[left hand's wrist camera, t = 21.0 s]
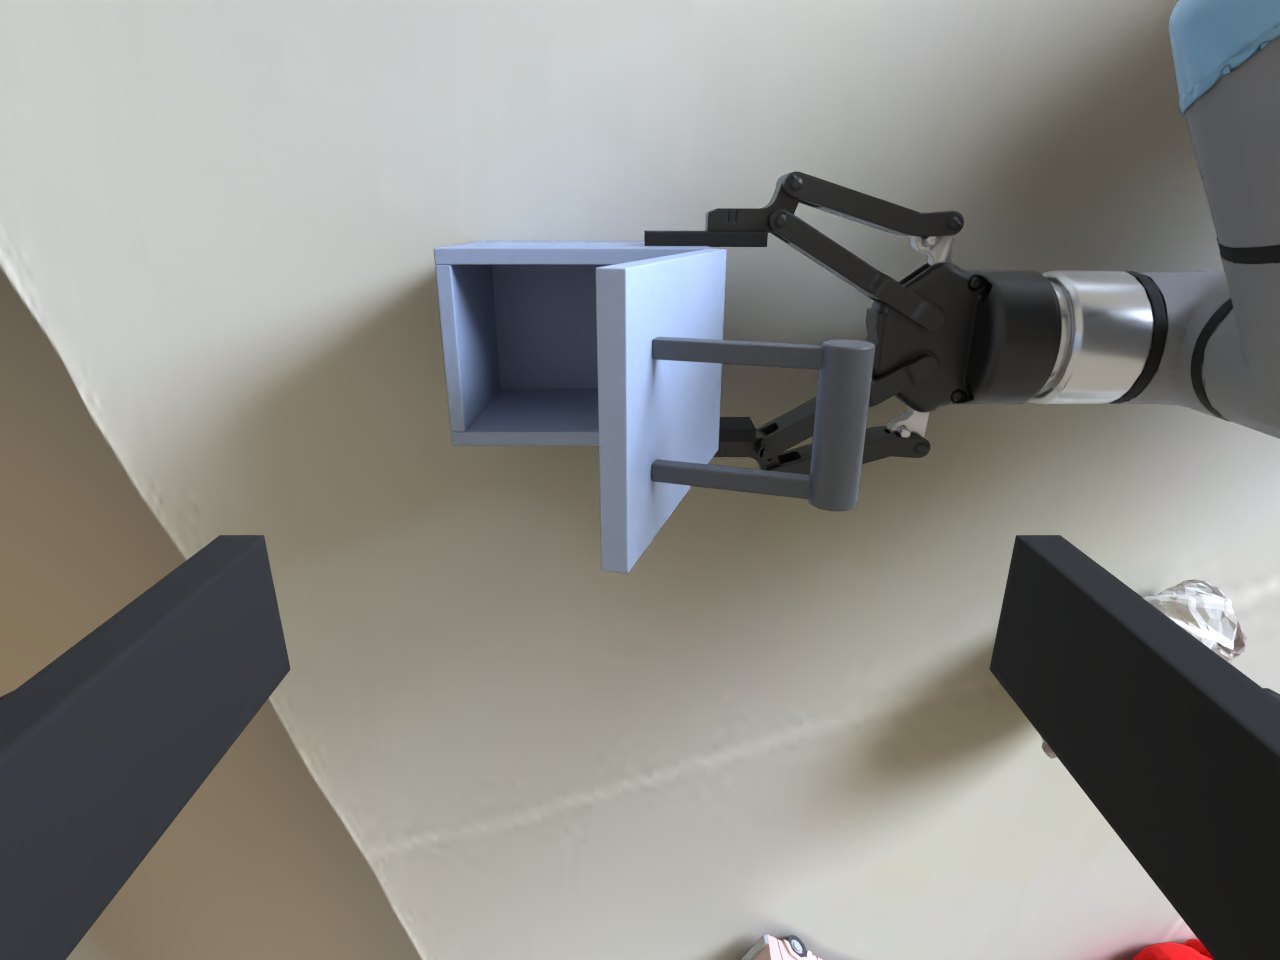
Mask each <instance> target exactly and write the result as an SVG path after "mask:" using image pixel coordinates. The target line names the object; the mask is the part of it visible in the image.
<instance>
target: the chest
mask: <svg viewBox="0 0 1280 960" xmlns="http://www.w3.org/2000/svg"><path fill="white" fill-rule="evenodd" d="M704 249H714V248H712V247H709V246H645V241H480V242H473V243H466V244H460V245H453V246H446V247H439V248H434V258H435V264H436V266H435V268H436V279H437V290H438V300H439V311H440V322H441V332H442V343H443V354H444V365H445V375H446V386H447V397H448V407H449V418H450V429H451V431H452V432H451V439H452V445H454V446H599V415H598V364H597V313H596V268H598V267H604V266H610V265H615V264H621V263H627V262H633V261H639V260H645V259H651V258H657V257H663V256H668V255H674V254H680V253H686V252H692V251H698V250H704Z"/></svg>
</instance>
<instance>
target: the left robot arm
mask: <svg viewBox="0 0 1280 960" xmlns="http://www.w3.org/2000/svg"><path fill="white" fill-rule="evenodd" d="M289 671H290V665H289V660H288V655H287V650H286V645H285V639H284V634H283V629H282V624H281V619H280V614H279V609H278V604H277V599H276V594H275V589H274V584H273V579H272V574H271V569H270V564H269V559H268V554H267V549H266V544H265V539H264V535H220V536H218V537H217V538H216V539H215V540H213V541H212V542H211V543H209V544H208V545H207V546H205V547H204V548H203V549H201V550H200V551H199V552H197V553H196V554H195V555H193V556H192V557H191V558H189V559H188V560H187V561H185V562H184V563H183V564H181V565H180V566H179V567H177V568H176V569H175V570H173V571H172V572H171V573H170V574H168V575H167V576H166V577H164V578H163V579H162V580H160V581H159V582H158V583H156V584H155V585H154V586H152V587H151V588H150V589H148V590H147V591H146V592H144V593H143V594H142V595H140V596H139V597H138V598H136V599H135V600H134V601H132V602H131V603H130V604H129V605H127V606H126V607H124V608H123V609H122V610H121V611H119V612H118V613H117V614H115V615H114V616H113V617H111V618H110V619H109V620H107V621H106V622H105V623H103V624H102V625H101V626H99V627H98V628H97V629H95V630H94V631H93V632H91V633H90V634H89V635H87V636H86V637H85V638H83V639H82V640H81V641H80V642H78V643H77V644H76V645H74V646H73V647H72V648H70V649H69V650H68V651H66V652H65V653H64V654H62V655H61V656H60V657H58V658H57V659H56V660H54V661H53V662H52V663H50V664H49V665H48V666H46V667H45V668H44V669H42V670H41V671H40V672H38V673H37V674H36V675H35V676H33V677H32V678H31V679H29V680H28V681H27V682H25V683H24V684H23V685H21V686H20V687H19V688H17V689H16V690H15V691H12V692H10V693H8V694H6V695H4V696H2V697H0V960H66V958H67V957H68V956H69V955H70V953H71V952H72V951H73V949H74V948H75V947H76V945H77V944H78V943H79V942H80V940H81V939H82V938H83V937H84V935H85V934H86V933H87V931H88V930H89V929H90V927H91V926H92V925H93V924H94V922H95V921H96V920H97V918H98V917H99V916H100V915H101V913H102V912H103V911H104V909H105V908H106V907H107V905H108V904H109V903H110V902H111V900H112V899H113V898H114V897H115V895H116V894H117V893H118V891H119V890H120V889H121V887H122V886H123V885H124V884H125V882H126V881H127V880H128V878H129V877H130V876H131V875H132V873H133V872H134V871H135V869H136V868H137V867H138V866H139V864H140V863H141V862H142V860H143V859H144V858H145V856H146V855H147V854H148V853H149V851H150V850H151V849H152V847H153V846H154V845H155V844H156V842H157V841H158V840H159V838H160V837H161V836H162V835H163V833H164V832H165V831H166V829H167V828H168V827H169V825H170V824H171V823H172V822H173V820H174V819H175V818H176V816H177V815H178V814H179V813H180V811H181V810H182V809H183V807H184V806H185V805H186V804H187V802H188V801H189V800H190V798H191V797H192V796H193V795H194V793H195V792H196V791H197V789H198V788H199V787H200V785H201V784H202V783H203V782H204V780H205V779H206V778H207V776H208V775H209V774H210V773H211V771H212V770H213V769H214V767H215V766H216V765H217V764H218V762H219V761H220V760H221V758H222V757H223V756H224V754H225V753H226V752H227V751H228V749H229V748H230V747H231V745H232V744H233V743H234V742H235V740H236V739H237V738H238V736H239V735H240V734H241V733H242V731H243V730H244V729H245V727H246V726H247V725H248V723H249V722H250V721H251V720H252V718H253V717H254V716H255V714H256V713H257V712H258V711H259V709H260V708H261V707H262V705H263V704H264V703H265V702H266V700H267V699H268V698H269V696H270V695H271V694H272V693H273V691H274V690H275V689H276V687H277V686H278V685H279V683H280V682H281V681H282V680H283V678H284V677H285V676H286V674H287V673H288V672H289ZM990 671H991V672H992V673H993V674H994V676H995V677H996V678H997V680H998V681H999V682H1000V683H1001V685H1002V686H1003V687H1004V689H1005V690H1006V691H1007V693H1008V694H1009V695H1010V696H1011V698H1012V699H1013V700H1014V702H1015V703H1016V704H1017V705H1018V707H1019V708H1020V709H1021V711H1022V712H1023V713H1024V714H1025V716H1026V717H1027V718H1028V720H1029V721H1030V722H1031V724H1032V725H1033V726H1034V727H1035V729H1036V730H1037V731H1038V733H1039V734H1040V735H1041V736H1042V738H1043V739H1044V740H1045V742H1046V743H1047V744H1048V745H1049V747H1050V748H1051V749H1052V751H1053V752H1054V753H1055V755H1056V756H1057V757H1058V758H1059V760H1060V761H1061V762H1062V764H1063V765H1064V766H1065V767H1066V769H1067V770H1068V771H1069V773H1070V774H1071V775H1072V776H1073V778H1074V779H1075V780H1076V782H1077V783H1078V784H1079V785H1080V787H1081V788H1082V789H1083V791H1084V792H1085V793H1086V795H1087V796H1088V797H1089V798H1090V800H1091V801H1092V802H1093V804H1094V805H1095V806H1096V807H1097V809H1098V810H1099V811H1100V813H1101V814H1102V815H1103V816H1104V818H1105V819H1106V820H1107V822H1108V823H1109V824H1110V826H1111V827H1112V828H1113V829H1114V831H1115V832H1116V833H1117V835H1118V836H1119V837H1120V838H1121V840H1122V841H1123V842H1124V844H1125V845H1126V846H1127V847H1128V849H1129V850H1130V851H1131V853H1132V854H1133V855H1134V856H1135V858H1136V859H1137V860H1138V862H1139V863H1140V864H1141V866H1142V867H1143V868H1144V869H1145V871H1146V872H1147V873H1148V875H1149V876H1150V877H1151V878H1152V880H1153V881H1154V882H1155V884H1156V885H1157V886H1158V887H1159V889H1160V890H1161V891H1162V893H1163V894H1164V895H1165V897H1166V898H1167V899H1168V900H1169V902H1170V903H1171V904H1172V906H1173V907H1174V908H1175V909H1176V911H1177V912H1178V913H1179V915H1180V916H1181V917H1182V918H1183V920H1184V921H1185V922H1186V924H1187V925H1188V926H1189V927H1190V929H1191V930H1192V931H1193V933H1194V934H1195V935H1196V937H1197V938H1198V939H1199V940H1200V942H1201V943H1202V944H1203V946H1204V947H1205V948H1206V949H1207V951H1208V952H1209V953H1210V955H1211V956H1212V957H1213V958H1214V960H1280V694H1278V693H1276V692H1274V691H1272V690H1270V689H1268V688H1261V687H1260V686H1259V685H1257V684H1256V683H1255V682H1253V681H1252V680H1251V679H1250V678H1248V677H1247V676H1246V675H1244V674H1243V673H1242V672H1240V671H1239V670H1238V669H1236V668H1235V667H1234V666H1232V665H1231V664H1230V663H1228V662H1227V661H1226V660H1224V659H1223V658H1222V657H1220V656H1219V655H1218V654H1216V653H1215V652H1214V651H1212V650H1211V649H1210V648H1208V647H1207V646H1206V645H1204V644H1203V643H1202V642H1201V641H1199V640H1198V639H1197V638H1195V637H1194V636H1193V635H1191V634H1190V633H1189V632H1187V631H1186V630H1185V629H1183V628H1182V627H1181V626H1179V625H1178V624H1177V623H1175V622H1174V621H1173V620H1171V619H1170V618H1169V617H1167V616H1166V615H1165V614H1163V613H1162V612H1161V611H1159V610H1158V609H1157V608H1156V607H1154V606H1153V605H1152V604H1150V603H1149V602H1148V601H1146V600H1145V599H1144V598H1142V597H1141V596H1140V595H1138V594H1137V593H1136V592H1134V591H1133V590H1132V589H1130V588H1129V587H1128V586H1126V585H1125V584H1124V583H1122V582H1121V581H1120V580H1118V579H1117V578H1116V577H1114V576H1113V575H1112V574H1110V573H1109V572H1108V571H1107V570H1105V569H1104V568H1103V567H1101V566H1100V565H1099V564H1097V563H1096V562H1095V561H1093V560H1092V559H1091V558H1089V557H1088V556H1087V555H1085V554H1084V553H1083V552H1081V551H1080V550H1079V549H1077V548H1076V547H1075V546H1073V545H1072V544H1071V543H1069V542H1068V541H1067V540H1065V539H1064V538H1063V537H1062V536H1060V535H1016V539H1015V544H1014V549H1013V554H1012V559H1011V564H1010V569H1009V574H1008V579H1007V584H1006V589H1005V594H1004V599H1003V604H1002V609H1001V614H1000V619H999V624H998V629H997V634H996V639H995V645H994V650H993V655H992V660H991V665H990Z"/></svg>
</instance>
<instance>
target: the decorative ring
mask: <svg viewBox="0 0 1280 960" xmlns="http://www.w3.org/2000/svg"><path fill="white" fill-rule="evenodd" d="M1133 960H1214V958H1213V957H1212V956H1211V955H1210V953H1209V952H1208V951H1207V949H1206V948H1205V947H1204V946H1203V944H1202V943H1201V942H1200V940H1199V939H1191V940H1188V941H1186V942H1185V943H1183V944H1179V943H1172V942H1169V943H1158V944H1154V945H1149V946H1147V947H1145V948H1143V949H1142V950H1141V951H1140V952H1139V953H1138V954H1137V955H1136V956H1135V957H1134V958H1133Z"/></svg>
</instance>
